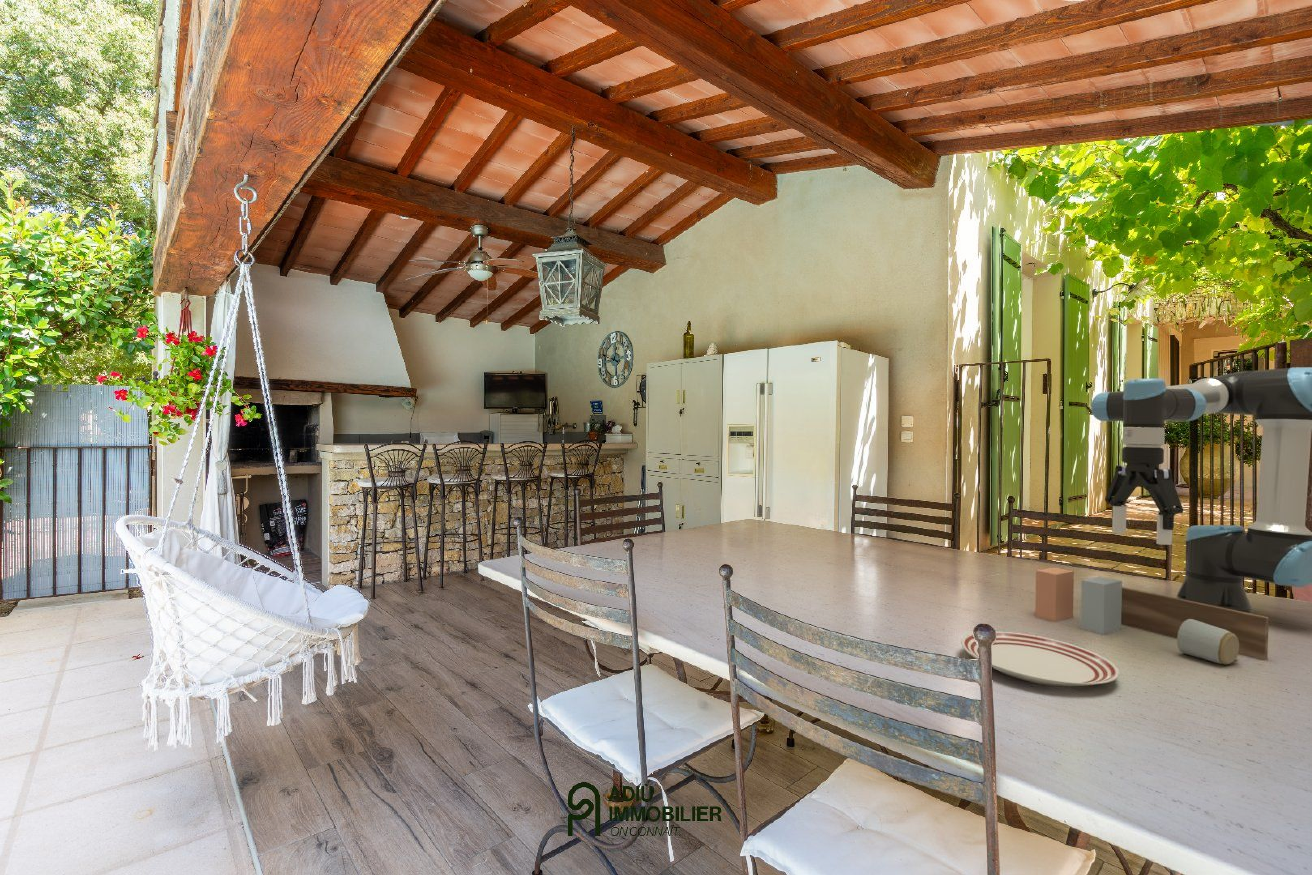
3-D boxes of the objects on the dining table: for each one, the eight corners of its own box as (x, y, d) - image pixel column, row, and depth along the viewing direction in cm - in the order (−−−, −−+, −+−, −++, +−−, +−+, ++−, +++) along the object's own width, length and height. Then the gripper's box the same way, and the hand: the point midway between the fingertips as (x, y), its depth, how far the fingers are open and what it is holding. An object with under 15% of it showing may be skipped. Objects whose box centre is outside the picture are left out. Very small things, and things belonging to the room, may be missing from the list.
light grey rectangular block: (1098, 623, 154) (1099, 576, 154) (1120, 629, 150) (1122, 580, 150) (1080, 628, 151) (1081, 579, 150) (1103, 634, 146) (1104, 584, 146)
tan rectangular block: (1052, 611, 164) (1053, 567, 164) (1072, 617, 160) (1073, 571, 159) (1035, 615, 160) (1036, 570, 160) (1055, 621, 156) (1056, 574, 156)
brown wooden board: (1101, 617, 160) (1102, 582, 160) (1267, 658, 131) (1268, 617, 131) (1098, 617, 159) (1099, 583, 159) (1264, 659, 131) (1265, 618, 131)
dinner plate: (1091, 653, 134) (1091, 638, 134) (1144, 707, 108) (1144, 689, 108) (952, 638, 143) (953, 624, 143) (971, 685, 117) (971, 668, 117)
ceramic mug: (1222, 669, 126) (1223, 631, 126) (1175, 655, 133) (1176, 619, 133) (1249, 662, 130) (1251, 626, 130) (1202, 649, 138) (1204, 615, 137)
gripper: (1089, 444, 153) (1087, 529, 154) (1170, 448, 128) (1167, 549, 129) (1119, 444, 153) (1117, 529, 153) (1206, 448, 128) (1204, 549, 128)
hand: (1140, 538), depth 141 cm, fingers open, 13 cm apart
